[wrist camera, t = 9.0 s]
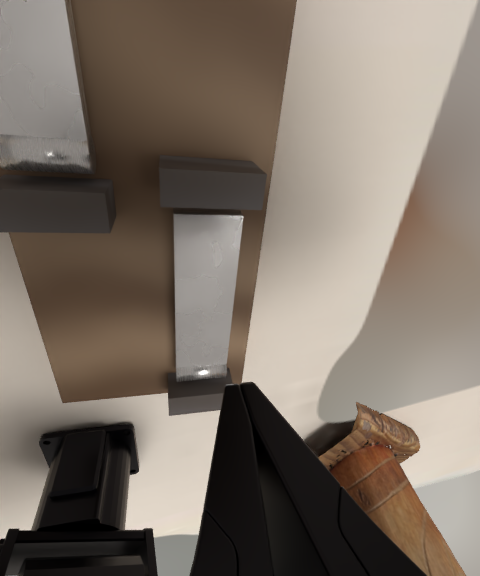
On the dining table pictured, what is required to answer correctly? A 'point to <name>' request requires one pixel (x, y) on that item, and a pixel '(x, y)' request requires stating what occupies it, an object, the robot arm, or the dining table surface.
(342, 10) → the dining table surface
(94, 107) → the walnut board
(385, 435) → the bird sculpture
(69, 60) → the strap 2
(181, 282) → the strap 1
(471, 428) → the dining table surface
